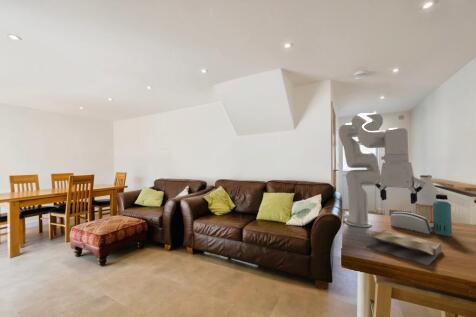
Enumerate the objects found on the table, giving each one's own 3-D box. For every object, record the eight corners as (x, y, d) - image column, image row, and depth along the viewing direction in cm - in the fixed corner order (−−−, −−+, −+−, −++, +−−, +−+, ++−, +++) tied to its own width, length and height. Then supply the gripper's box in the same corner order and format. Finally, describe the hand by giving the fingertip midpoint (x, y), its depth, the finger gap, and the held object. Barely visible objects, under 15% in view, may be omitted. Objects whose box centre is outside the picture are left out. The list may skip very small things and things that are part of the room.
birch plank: (368, 235, 89) (369, 230, 89) (376, 239, 93) (377, 234, 93) (426, 251, 73) (427, 244, 73) (433, 255, 77) (433, 248, 77)
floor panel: (366, 246, 88) (366, 239, 88) (384, 237, 98) (383, 230, 98) (427, 265, 72) (427, 256, 72) (441, 251, 82) (441, 243, 82)
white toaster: (432, 232, 103) (429, 214, 102) (429, 237, 101) (426, 219, 99) (394, 223, 118) (391, 208, 116) (390, 228, 115) (387, 212, 114)
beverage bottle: (449, 234, 99) (447, 193, 100) (455, 239, 93) (454, 195, 94) (431, 232, 102) (429, 193, 103) (436, 237, 96) (435, 195, 97)
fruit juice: (419, 226, 112) (417, 175, 112) (414, 221, 120) (412, 174, 120) (442, 229, 107) (440, 175, 108) (435, 223, 116) (433, 174, 116)
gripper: (368, 159, 87) (370, 199, 87) (421, 158, 73) (423, 206, 73) (376, 159, 91) (377, 197, 91) (427, 158, 77) (429, 203, 77)
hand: (398, 201), depth 82 cm, fingers open, 9 cm apart
